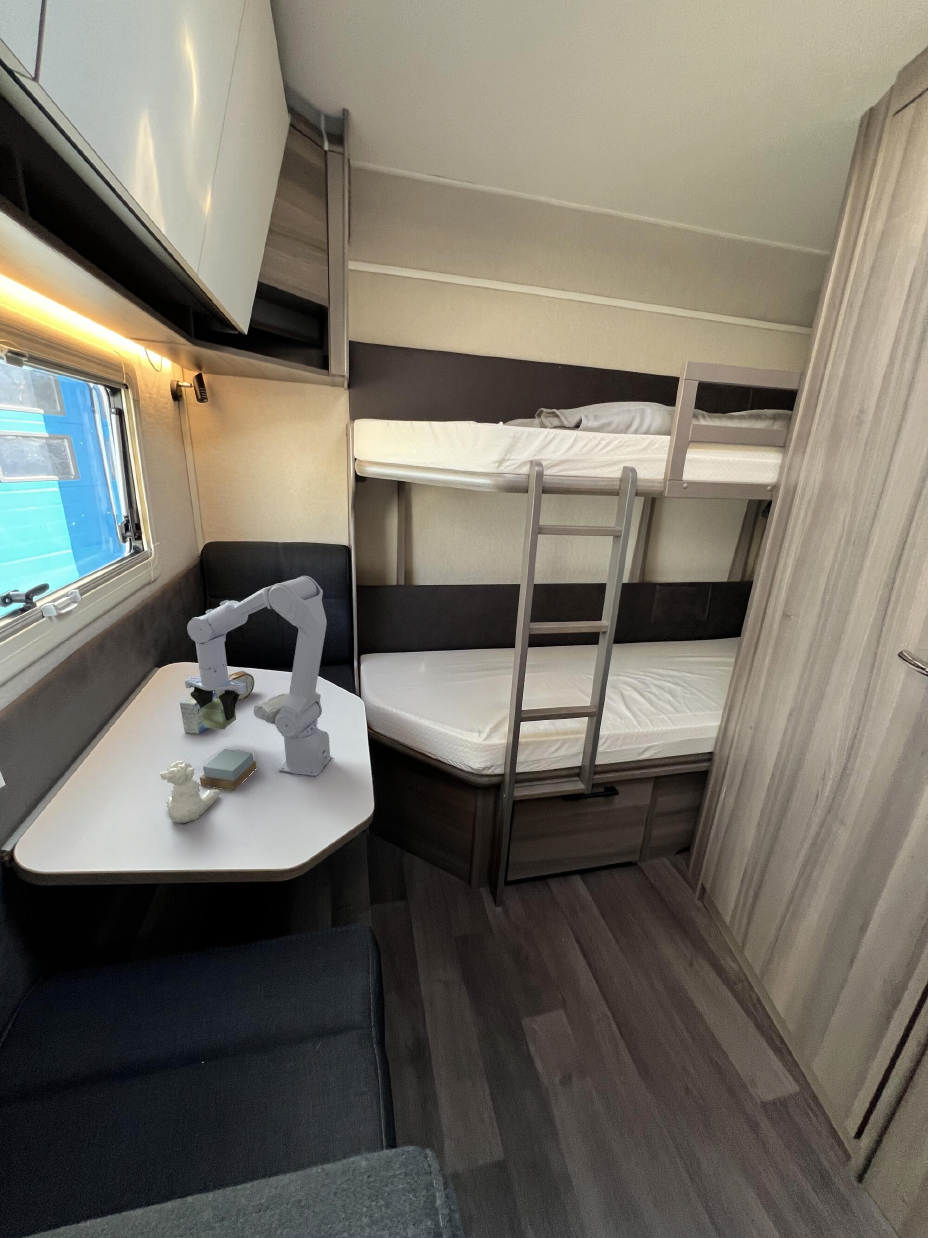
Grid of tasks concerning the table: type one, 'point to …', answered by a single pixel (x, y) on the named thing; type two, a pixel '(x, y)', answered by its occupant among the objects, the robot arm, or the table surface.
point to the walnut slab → (227, 783)
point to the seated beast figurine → (186, 793)
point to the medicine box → (192, 715)
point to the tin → (241, 678)
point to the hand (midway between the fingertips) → (219, 717)
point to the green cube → (215, 715)
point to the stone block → (269, 708)
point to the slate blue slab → (228, 764)
